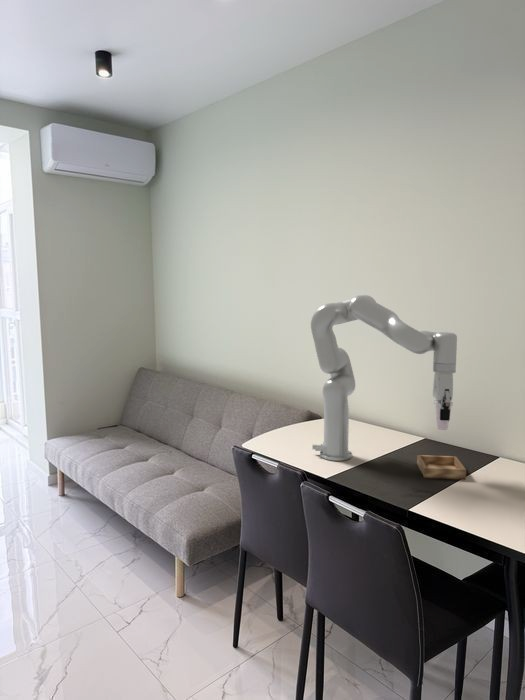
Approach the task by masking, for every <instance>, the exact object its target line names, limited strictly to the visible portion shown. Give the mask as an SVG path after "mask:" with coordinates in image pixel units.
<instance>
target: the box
mask: <svg viewBox="0 0 525 700" xmlns="http://www.w3.org/2000/svg"><path fill="white" fill-rule="evenodd" d="M416 465H417V467H418V469H419V471H420V473H421V475H422V477H423V478H424V479H441V480H442V479H444V480H445V479H446V480H464V479H466V480H467V468H465V466H464V465H463V463H462V462H461V461H460V460H459V458H458V457H457V456H456V455H455V456H453V455H452V456H451V455H427V454H426V455H424V454H417V455H416Z"/></svg>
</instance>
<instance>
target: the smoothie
mask: <svg viewBox="0 0 525 700" xmlns="http://www.w3.org/2000/svg"><path fill="white" fill-rule="evenodd" d="M444 400H445V399H444ZM444 403H445V402H443V405H444ZM433 405H434V415H435V422H436V423H435V425H436V429H437V430H441V431H446V430H448V428H449V423H450V420H449V421H446V420H440V409H441V400H440V401H438V400H436V399H435V400H434V401H433ZM453 405H454V403H453V402H452V400H451V401H450V414H451V412H452V407H453Z"/></svg>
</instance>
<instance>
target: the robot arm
mask: <svg viewBox="0 0 525 700" xmlns="http://www.w3.org/2000/svg"><path fill="white" fill-rule="evenodd" d="M358 320H359V321H361V322H362V323H364V324H367V325H368V326H369V327H371V328H373V329H375V330H377V331H379V332H381V333H382V334H383V335H385V336H386V337H387V338H389V339H390V340H391V341H393V343H395V344H397V345H399V346H401V347H402V348H404V349H406V350H408V351H410V352H411V353H413V354H417V355H423V354H426V353H428V352H433V363H432V365H433V366H432V371H433V373H434V376H433V385H432V386H433V388H432V397H434V399H435V400H438V401H440V400H441V409H440V420H446V421H449V422H450V419H451V413H450V401H451V402H452V400H453V396H454V374H455V373H456V370H457V347H458V346H457V345H458V336H457V334H456V333H454V332H447V331H444V332H443V331H442V332H434V331H429V330H421V331H419V330H418V329H415V328H414V327H412V326H411V325H408V324H407V323H406V322H404V321H403V320H401V319H400V318H399V316H398V315H397V313H395V312H394V311H392V310H391V309H390V308H389V309H388V308H387V307H385V306H384V305H382V304H380V303H378V302H376V300H375V298H374V297H372V296H370V295H367V294H366V295H365V294H364V295H357V296H354V297H353V298H351V299H348V300H342V301H340V302H331V303H326V304H324V305H323V304H322V305H321V306H319V308H317V309H316V311H315V312H314V313H313V315H312V317H311V321H310V329H311V333H312V334H311V335H312V339H313V342H314V347H315V352H316V355H317V356H316V357H317V360H318V365H319V368H320V370H321V371H322V372H323V373H325V374H327V375H330V378H328V379H327V380H326V381H325V383H324V384H323V387H322V397H323V399H322V400H323V442H322V443H321V444H312V450H315V452H319V457H321V458H322V459H325V460H327V461H332V462H333V461H335V462H337V461H340V462H341V461H348V460H350V459H352V457H353V453H352V451H350V450H349V433H350V432H349V427H350V426H349V424H350V421H349V419H350V413H349V411H350V409H349V402H348V399H349V398H348V397H350V396H351V395H352V394H353V393H354V391H355V390H356V379H355V375H354V371H353V366H352V363H351V359H350V356H349V354H348V353H347V351H346V350H345V349H343V348H342V347H339V346H338V343H337V337H336V335H335V331H334V329H333V326H337V325H342V324H345V323H349V322H354V321H358ZM444 399H445V400H444ZM443 402H445V403H444V405H443Z"/></svg>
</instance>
